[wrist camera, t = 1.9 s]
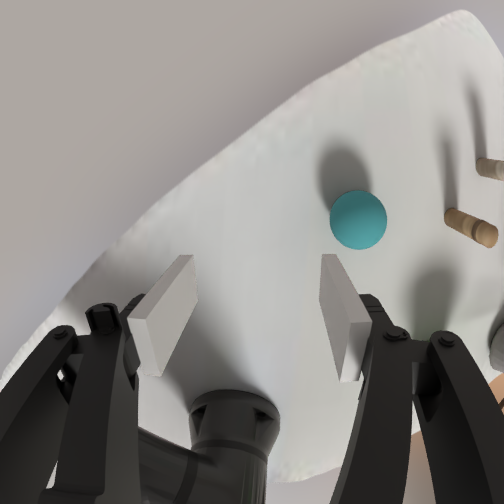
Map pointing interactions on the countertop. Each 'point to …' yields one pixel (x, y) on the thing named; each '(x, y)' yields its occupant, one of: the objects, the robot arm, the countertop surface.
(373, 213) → the ball
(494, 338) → the coffee pot
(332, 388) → the countertop surface
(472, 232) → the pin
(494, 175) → the side pin
